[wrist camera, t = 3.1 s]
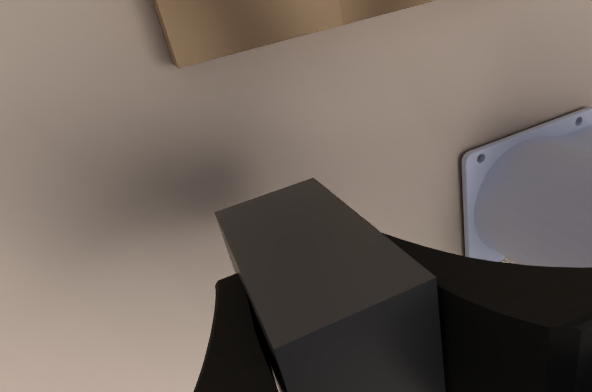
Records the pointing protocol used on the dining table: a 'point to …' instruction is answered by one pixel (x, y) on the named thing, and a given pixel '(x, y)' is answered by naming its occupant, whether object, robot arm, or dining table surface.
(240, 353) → the robot arm
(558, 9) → the dining table surface
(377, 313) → the grey block
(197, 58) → the socket board
